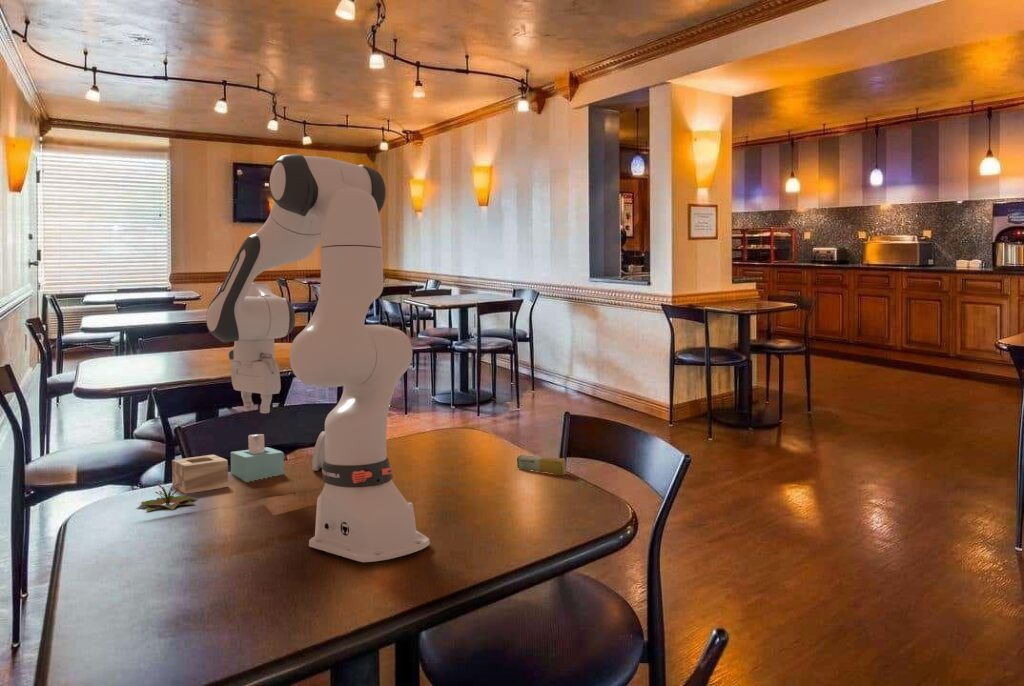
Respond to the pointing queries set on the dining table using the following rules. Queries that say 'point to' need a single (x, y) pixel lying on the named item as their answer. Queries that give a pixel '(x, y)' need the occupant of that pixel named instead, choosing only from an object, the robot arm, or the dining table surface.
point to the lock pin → (256, 444)
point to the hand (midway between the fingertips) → (256, 411)
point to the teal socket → (257, 464)
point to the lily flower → (167, 500)
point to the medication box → (542, 464)
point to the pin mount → (200, 473)
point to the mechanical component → (319, 452)
